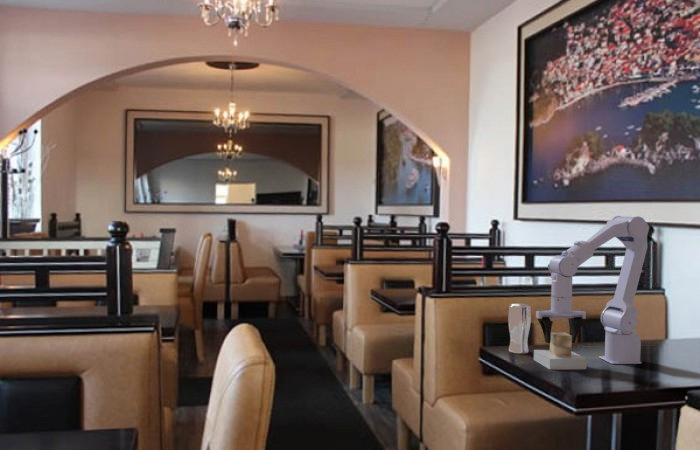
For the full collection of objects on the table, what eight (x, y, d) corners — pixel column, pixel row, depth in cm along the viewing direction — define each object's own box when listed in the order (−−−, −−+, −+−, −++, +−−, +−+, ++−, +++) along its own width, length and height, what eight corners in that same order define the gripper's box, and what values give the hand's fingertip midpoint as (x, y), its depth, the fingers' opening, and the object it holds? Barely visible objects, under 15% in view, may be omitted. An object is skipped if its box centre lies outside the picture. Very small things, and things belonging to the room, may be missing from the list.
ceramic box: (568, 361, 186) (568, 349, 185) (586, 370, 175) (586, 358, 175) (533, 361, 184) (533, 349, 184) (549, 371, 173) (549, 358, 173)
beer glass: (530, 354, 191) (532, 307, 190) (507, 353, 192) (509, 305, 192) (528, 349, 197) (530, 303, 197) (506, 348, 199) (508, 302, 198)
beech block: (563, 352, 182) (564, 332, 181) (571, 356, 177) (571, 335, 177) (549, 352, 181) (550, 332, 181) (556, 356, 177) (557, 335, 176)
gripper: (543, 298, 174) (542, 345, 174) (591, 298, 176) (590, 345, 176) (533, 295, 181) (532, 340, 181) (579, 295, 183) (578, 340, 183)
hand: (559, 342), depth 179 cm, fingers open, 7 cm apart
